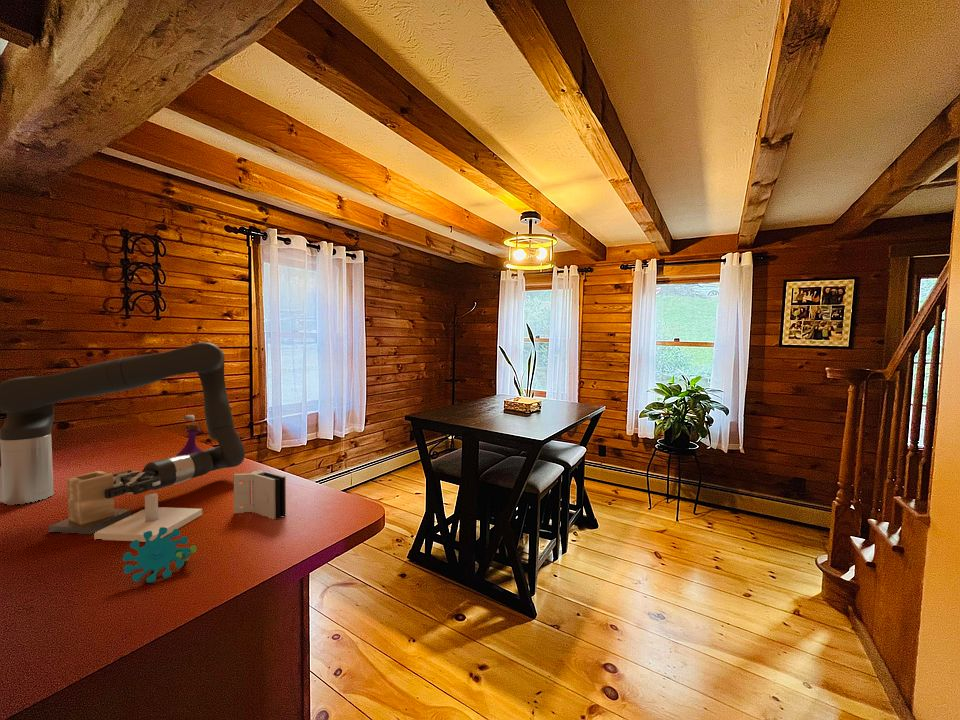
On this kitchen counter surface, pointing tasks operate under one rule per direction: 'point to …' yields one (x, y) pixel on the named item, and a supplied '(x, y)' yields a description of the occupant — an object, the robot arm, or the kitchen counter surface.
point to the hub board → (148, 522)
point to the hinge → (260, 493)
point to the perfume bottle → (190, 438)
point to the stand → (91, 527)
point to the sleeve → (89, 497)
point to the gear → (158, 554)
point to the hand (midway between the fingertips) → (95, 491)
